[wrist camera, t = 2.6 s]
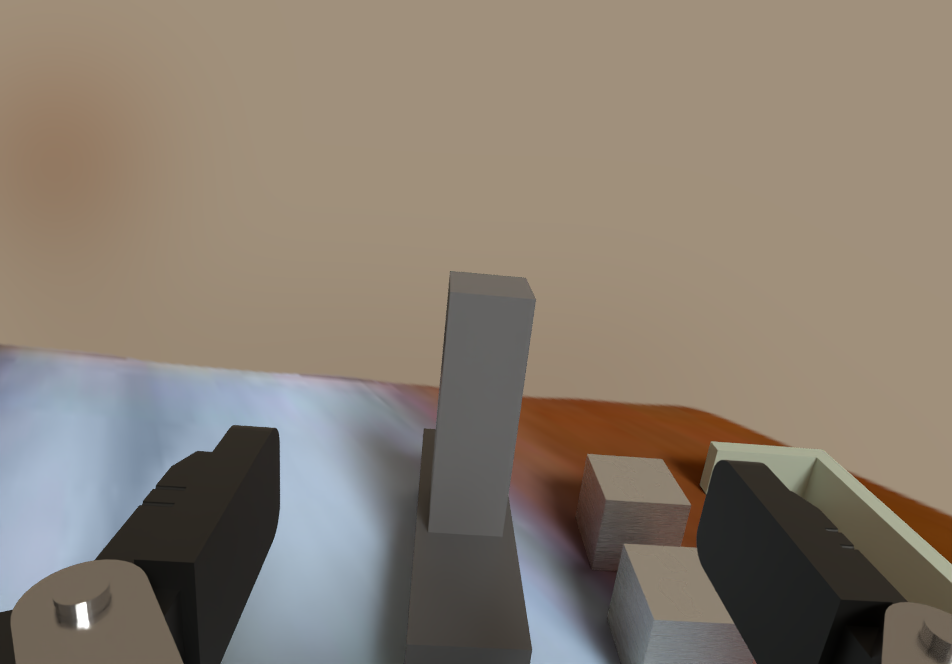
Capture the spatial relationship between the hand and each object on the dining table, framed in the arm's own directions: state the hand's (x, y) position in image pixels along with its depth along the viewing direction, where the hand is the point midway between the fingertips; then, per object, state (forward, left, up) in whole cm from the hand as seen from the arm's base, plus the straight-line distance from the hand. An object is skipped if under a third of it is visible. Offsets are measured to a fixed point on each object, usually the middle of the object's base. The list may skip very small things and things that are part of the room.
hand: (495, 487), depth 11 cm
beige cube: (+9, +9, -13) cm, 18 cm away
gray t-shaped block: (+1, +12, -13) cm, 18 cm away
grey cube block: (+9, +16, -13) cm, 23 cm away
